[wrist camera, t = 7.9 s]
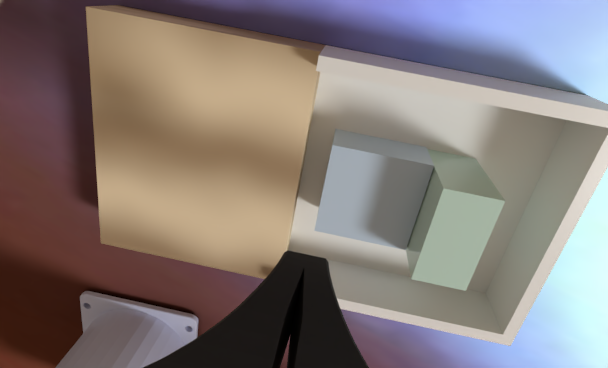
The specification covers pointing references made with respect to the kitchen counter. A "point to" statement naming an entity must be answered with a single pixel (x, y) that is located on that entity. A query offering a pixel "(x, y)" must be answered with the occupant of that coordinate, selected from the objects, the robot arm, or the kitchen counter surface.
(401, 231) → the tile
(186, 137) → the oak plate
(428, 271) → the tile
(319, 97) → the box
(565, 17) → the kitchen counter surface
